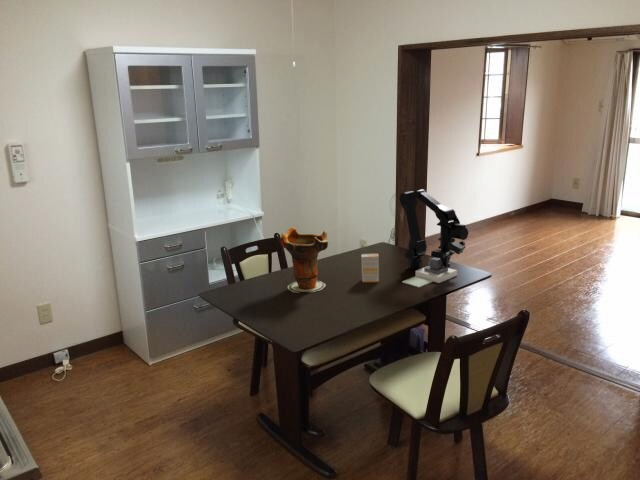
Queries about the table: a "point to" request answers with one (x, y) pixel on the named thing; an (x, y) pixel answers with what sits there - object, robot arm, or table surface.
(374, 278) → the supplement box
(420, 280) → the pad
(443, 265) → the bar
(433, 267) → the plug
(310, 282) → the decorative vase
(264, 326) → the table surface
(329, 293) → the table surface
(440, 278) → the socket block
